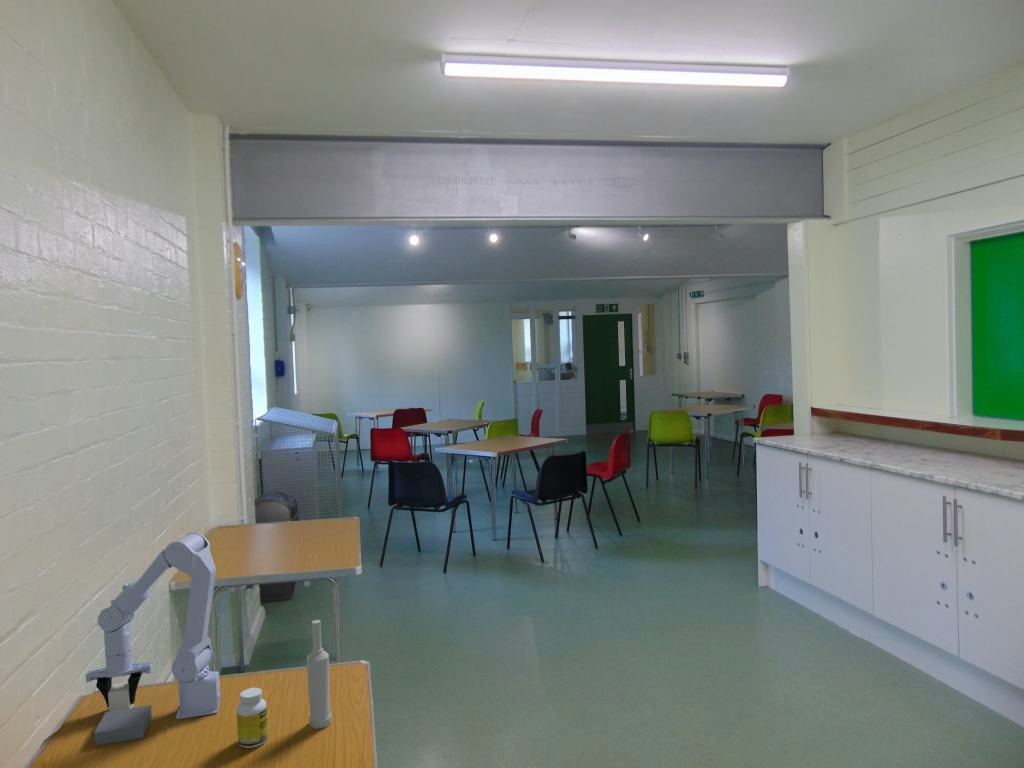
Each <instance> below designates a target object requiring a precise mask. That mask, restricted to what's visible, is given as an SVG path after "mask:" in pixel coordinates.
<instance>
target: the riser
mask: <svg viewBox="0 0 1024 768" xmlns="http://www.w3.org/2000/svg"><path fill="white" fill-rule="evenodd" d="M152 717H153V715H152V704H148V705H142V706H135V707H134V706H133V707H132V708H127V709H121V710H114V711H109V710H108V711H105V712H104V714H103V716H102V718H101V720H100V722H99V723H98V726H97V727H96V729H95V731H94V733H93V735H94V746H95V747H97V746H102V745H109V744H115V743H119V742H120V743H122V742H126V741H133V740H140V739H144V737H145V734H146V732H147V729H148V727H149V725H150V722H151V720H152Z"/></svg>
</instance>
